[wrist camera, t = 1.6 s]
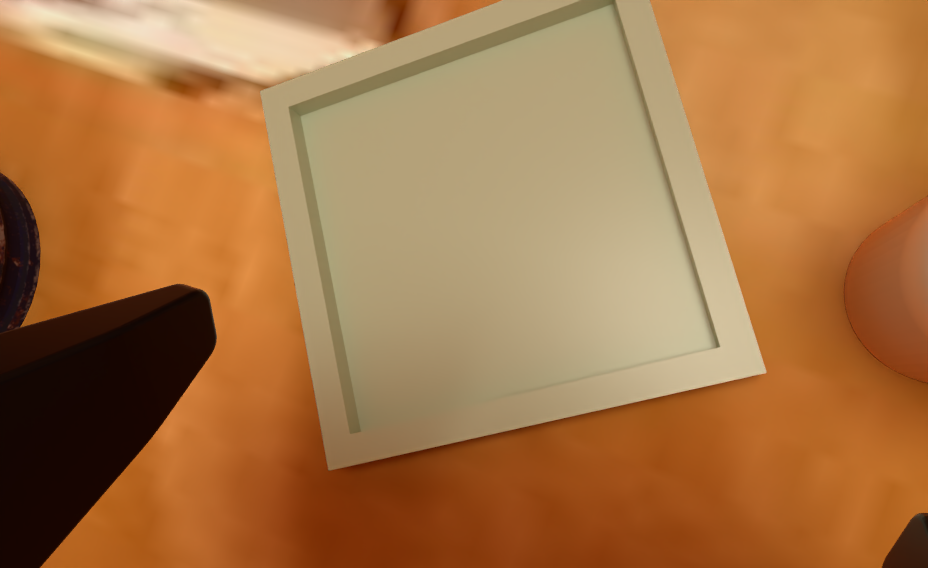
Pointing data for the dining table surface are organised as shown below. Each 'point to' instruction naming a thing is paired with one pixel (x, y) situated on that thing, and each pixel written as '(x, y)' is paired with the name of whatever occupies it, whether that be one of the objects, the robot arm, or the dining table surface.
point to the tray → (501, 229)
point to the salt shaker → (893, 292)
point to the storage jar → (16, 255)
